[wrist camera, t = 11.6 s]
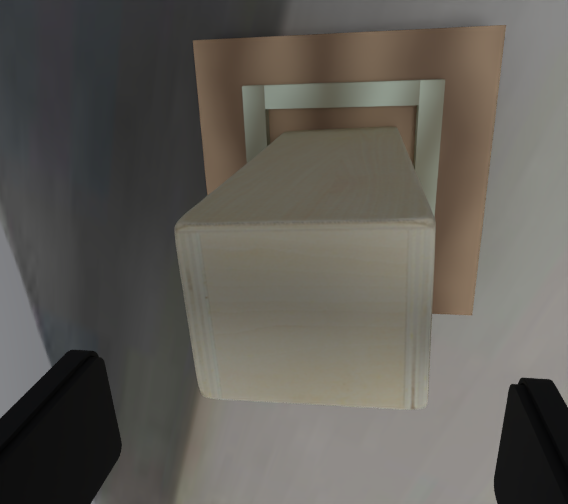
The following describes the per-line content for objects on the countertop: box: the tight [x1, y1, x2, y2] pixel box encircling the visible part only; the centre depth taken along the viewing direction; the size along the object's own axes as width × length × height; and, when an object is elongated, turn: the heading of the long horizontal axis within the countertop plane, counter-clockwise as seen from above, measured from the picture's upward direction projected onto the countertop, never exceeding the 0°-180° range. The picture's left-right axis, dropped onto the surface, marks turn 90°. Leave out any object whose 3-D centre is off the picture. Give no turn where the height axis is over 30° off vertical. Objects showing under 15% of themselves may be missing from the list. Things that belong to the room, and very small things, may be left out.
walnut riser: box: [193, 25, 506, 315], centre depth 36 cm, size 20×20×6 cm
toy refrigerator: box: [175, 127, 436, 410], centre depth 25 cm, size 8×7×21 cm
